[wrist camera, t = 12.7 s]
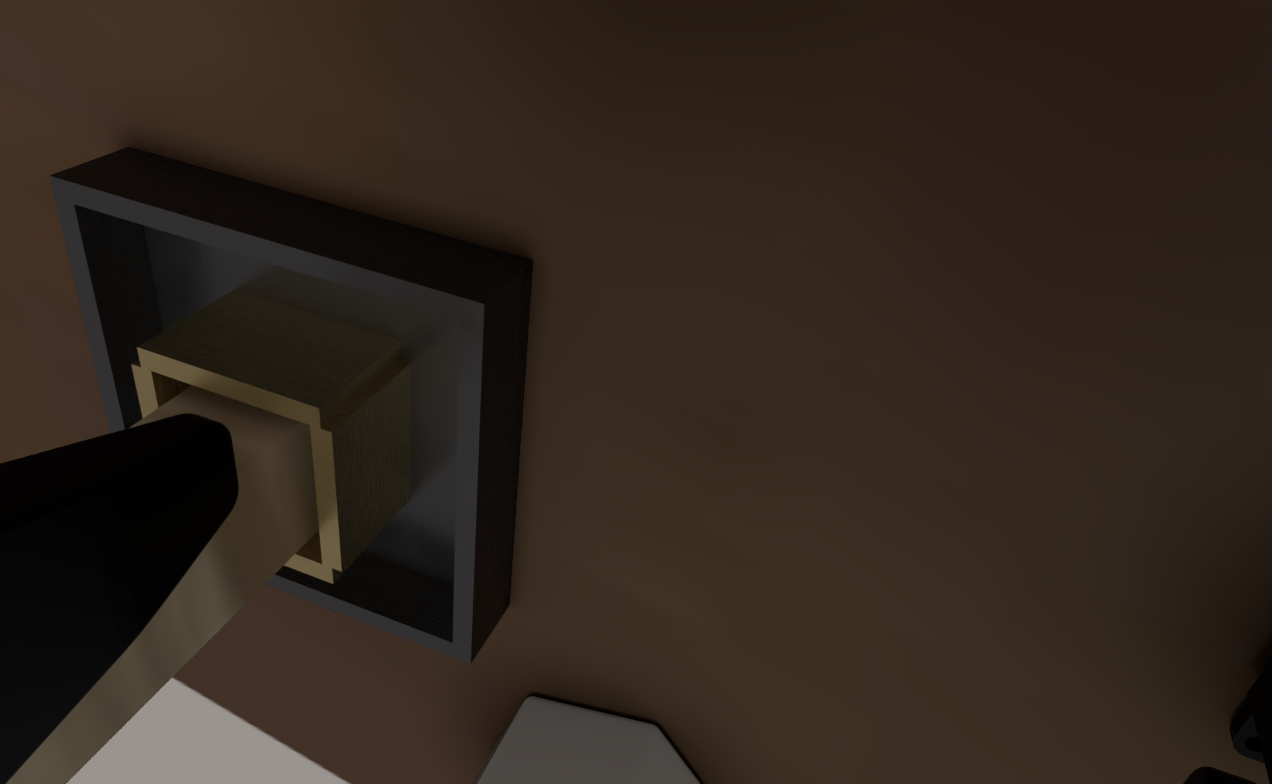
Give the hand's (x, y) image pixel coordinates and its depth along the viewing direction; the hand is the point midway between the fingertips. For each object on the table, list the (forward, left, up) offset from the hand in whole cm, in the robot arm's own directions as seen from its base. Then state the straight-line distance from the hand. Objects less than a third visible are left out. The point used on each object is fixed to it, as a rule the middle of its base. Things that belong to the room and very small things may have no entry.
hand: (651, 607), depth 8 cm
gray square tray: (+13, +10, -13) cm, 21 cm away
